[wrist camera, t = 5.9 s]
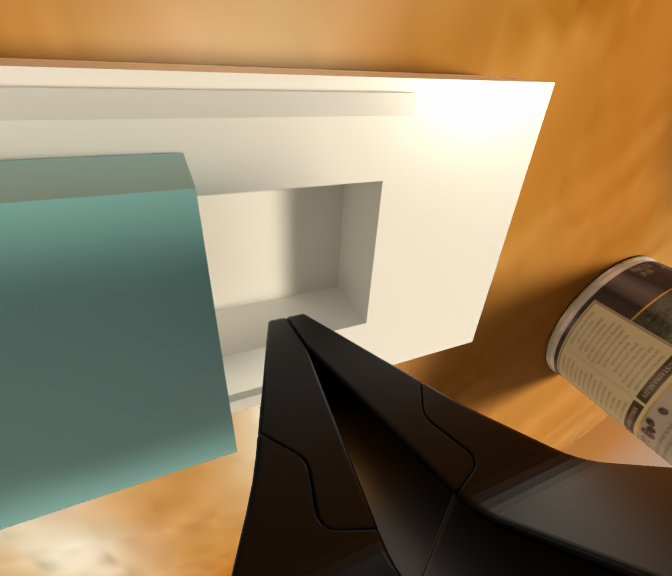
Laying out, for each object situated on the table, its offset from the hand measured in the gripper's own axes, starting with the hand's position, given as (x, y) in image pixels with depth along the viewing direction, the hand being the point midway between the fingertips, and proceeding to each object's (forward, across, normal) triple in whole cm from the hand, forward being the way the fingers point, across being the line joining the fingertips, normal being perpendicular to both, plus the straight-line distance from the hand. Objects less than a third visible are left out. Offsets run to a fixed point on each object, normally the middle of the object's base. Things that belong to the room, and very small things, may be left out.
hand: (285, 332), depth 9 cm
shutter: (+2, +4, 0) cm, 5 cm away
